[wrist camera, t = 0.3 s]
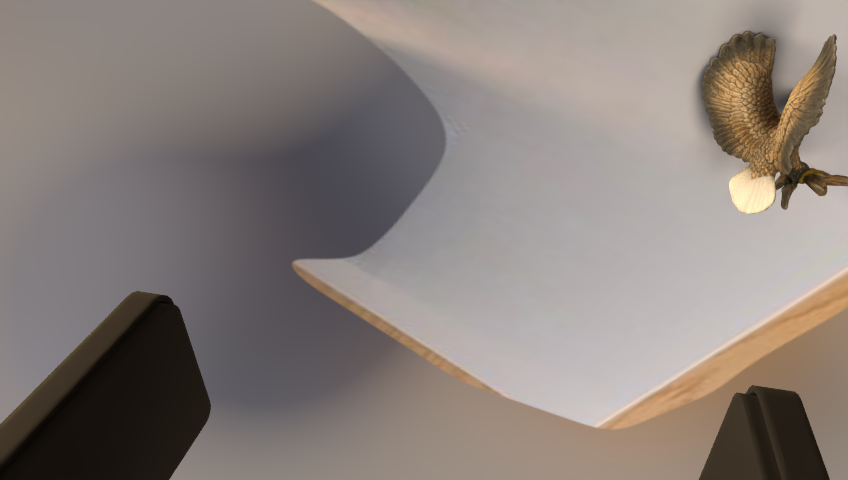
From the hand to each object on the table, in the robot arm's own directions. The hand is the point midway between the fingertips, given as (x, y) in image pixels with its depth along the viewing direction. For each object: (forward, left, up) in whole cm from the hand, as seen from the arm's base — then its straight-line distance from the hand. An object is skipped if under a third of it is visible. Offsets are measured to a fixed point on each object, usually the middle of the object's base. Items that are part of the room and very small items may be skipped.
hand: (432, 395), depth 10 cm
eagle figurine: (+6, +13, -31) cm, 34 cm away
